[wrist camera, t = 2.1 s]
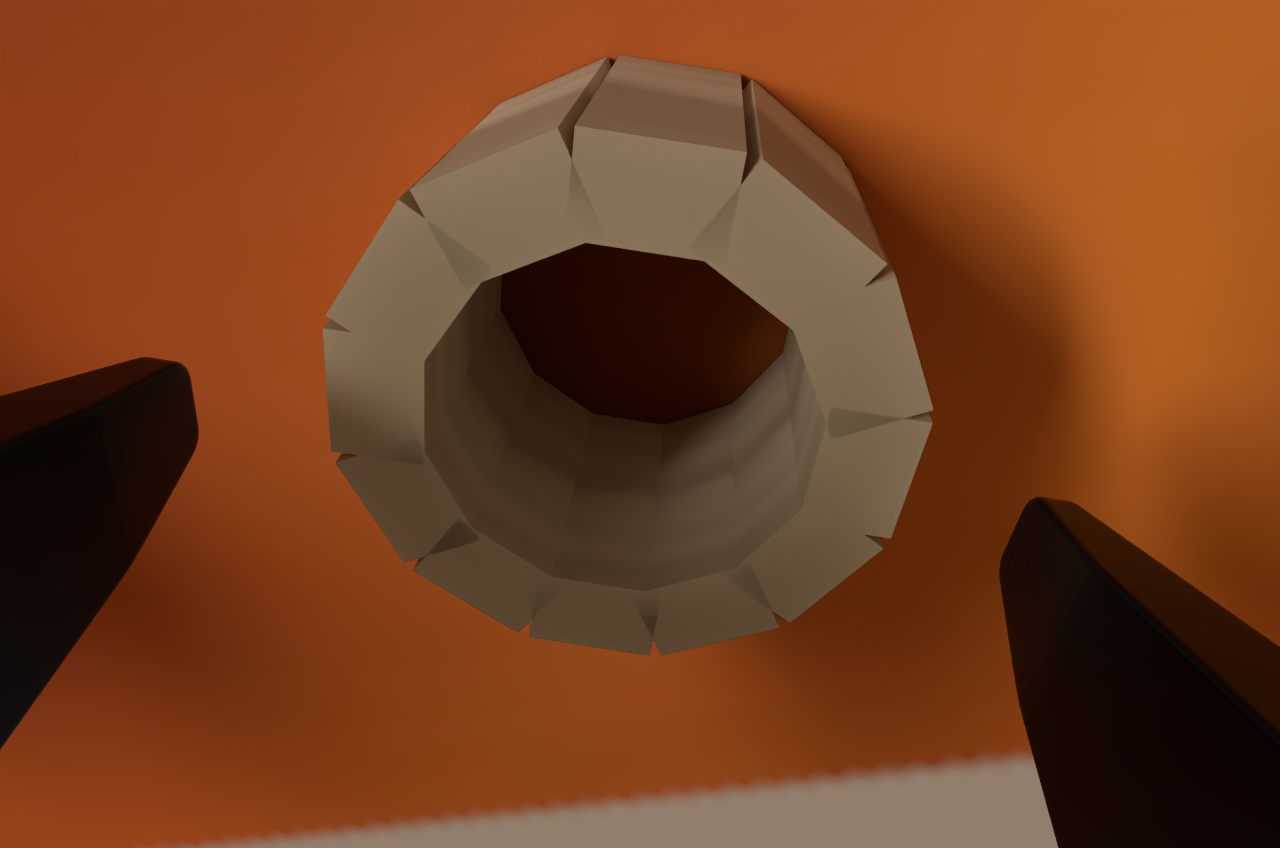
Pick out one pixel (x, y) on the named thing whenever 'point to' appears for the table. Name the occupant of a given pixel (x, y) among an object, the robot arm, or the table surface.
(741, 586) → the wooden ring
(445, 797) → the table surface
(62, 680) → the table surface
